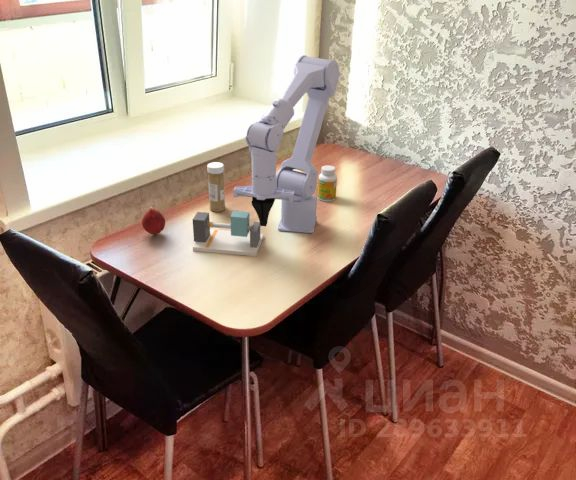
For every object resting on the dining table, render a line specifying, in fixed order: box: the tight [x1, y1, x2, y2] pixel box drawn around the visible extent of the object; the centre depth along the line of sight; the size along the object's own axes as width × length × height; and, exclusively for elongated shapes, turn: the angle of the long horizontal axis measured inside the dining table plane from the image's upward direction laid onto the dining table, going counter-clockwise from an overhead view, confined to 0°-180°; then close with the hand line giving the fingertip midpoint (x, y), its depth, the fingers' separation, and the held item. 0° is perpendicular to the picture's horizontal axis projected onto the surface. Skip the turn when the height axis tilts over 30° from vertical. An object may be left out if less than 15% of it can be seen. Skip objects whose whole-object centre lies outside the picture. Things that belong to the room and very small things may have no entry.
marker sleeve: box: [230, 210, 250, 237], centre depth 143 cm, size 4×3×5 cm
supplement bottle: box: [317, 164, 338, 203], centre depth 169 cm, size 5×5×10 cm
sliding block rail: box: [192, 211, 265, 257], centre depth 145 cm, size 16×10×7 cm, turn 81°
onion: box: [141, 206, 166, 236], centre depth 148 cm, size 6×6×8 cm
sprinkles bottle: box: [206, 161, 226, 213], centre depth 161 cm, size 5×5×14 cm
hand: (263, 224), depth 142 cm, fingers closed
